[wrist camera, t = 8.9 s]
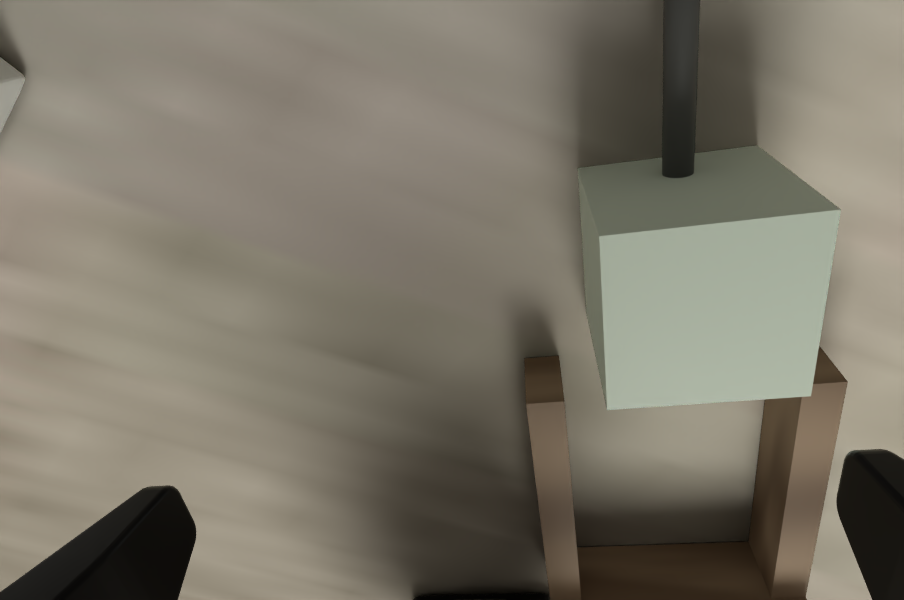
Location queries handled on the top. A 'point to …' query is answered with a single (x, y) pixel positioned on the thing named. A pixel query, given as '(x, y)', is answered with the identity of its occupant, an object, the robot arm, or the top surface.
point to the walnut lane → (700, 564)
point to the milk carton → (8, 89)
